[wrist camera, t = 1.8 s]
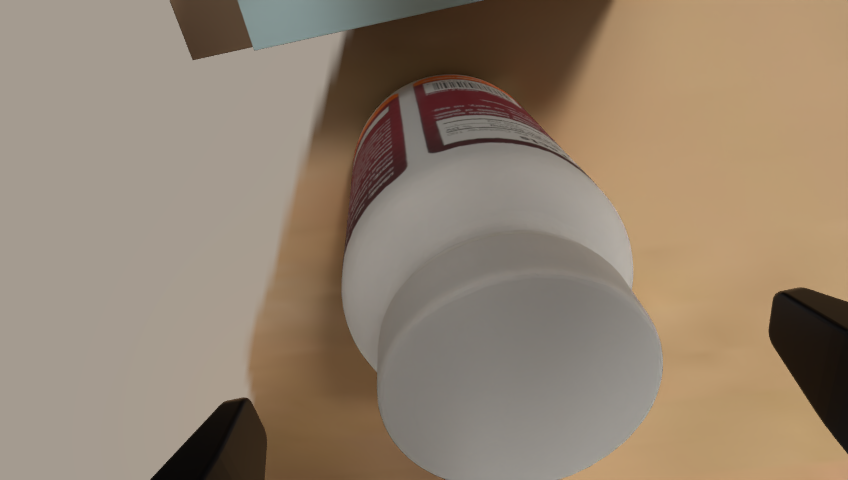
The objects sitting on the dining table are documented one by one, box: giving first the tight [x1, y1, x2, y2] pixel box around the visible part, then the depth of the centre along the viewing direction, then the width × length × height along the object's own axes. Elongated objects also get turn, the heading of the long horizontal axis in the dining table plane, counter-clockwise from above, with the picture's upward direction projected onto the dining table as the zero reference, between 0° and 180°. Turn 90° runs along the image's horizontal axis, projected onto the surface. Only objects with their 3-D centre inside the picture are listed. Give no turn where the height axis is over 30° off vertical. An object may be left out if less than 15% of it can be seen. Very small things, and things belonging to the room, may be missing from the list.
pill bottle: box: [342, 74, 663, 480], centre depth 14 cm, size 6×6×11 cm
